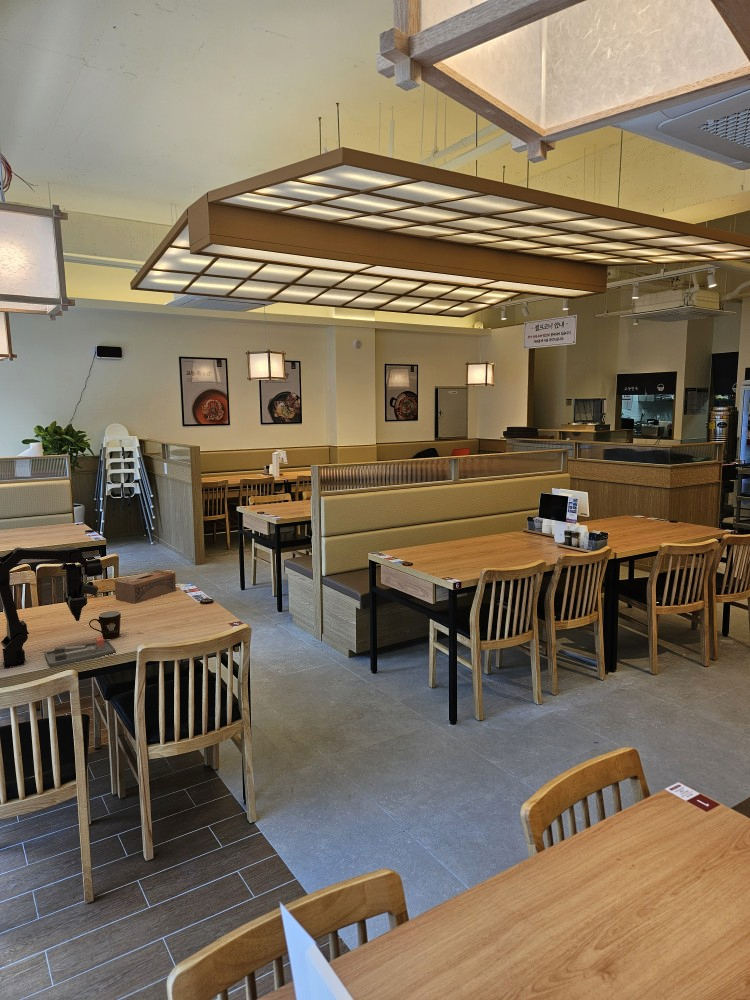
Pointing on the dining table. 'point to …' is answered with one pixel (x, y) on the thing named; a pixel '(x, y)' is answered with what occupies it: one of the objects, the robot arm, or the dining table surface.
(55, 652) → the bar
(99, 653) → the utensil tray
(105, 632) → the coffee mug
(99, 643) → the tab
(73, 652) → the tongs fixed body
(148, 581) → the tissue box cover
